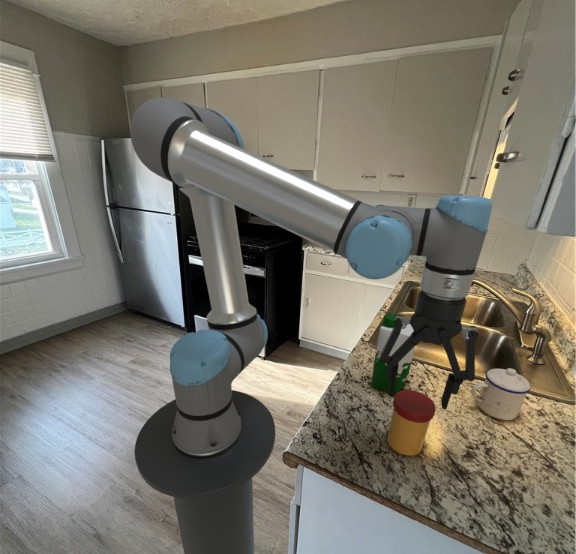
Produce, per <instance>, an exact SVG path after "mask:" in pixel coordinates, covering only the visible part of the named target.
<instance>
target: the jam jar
mask: <svg viewBox="0 0 576 554" xmlns="http://www.w3.org/2000/svg"><path fill="white" fill-rule="evenodd" d="M430 422H431V420H430V421H428V422H425V423H416V422H412V421H409V420H406V419H404V418H403V417H401V416H400V415H398V413H397V412H396V411H395V410H394V409H393V410H392V414H391V419H390V423H389V427H388V432H387V438H386V439H387V440H386V441H387V443H388V445H389V446H390V447H391V449H393V450H394V451H395V452H397V453H399V454H401V455H403V456H408V457H409V456H417V455H419V454H420V453H421V452H422V450H423V446H424V443H425V439H426V436H427V433H428V429H429V426H430Z"/></svg>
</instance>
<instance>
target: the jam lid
mask: <svg viewBox="0 0 576 554" xmlns="http://www.w3.org/2000/svg"><path fill="white" fill-rule="evenodd" d="M392 408H393V410H395V411H396V412H397V413H398V415H400V416H401V417H403V418H404V419H406V420H409V421H412V422H416V423H425V422H428V421H430V422H431V421H432V420H433V419H434V417H435V415H436V408H437V407H436V404H435V402H434V401H433V400H432V399H431V398H430V397H429V396H428V395H426V394H424V393H422V392H419V391H417V390H411V389H404V390H402V389H401V390H400V391H399V392H398V393H396V395H395V394H394V396H393V401H392Z"/></svg>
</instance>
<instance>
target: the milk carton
mask: <svg viewBox="0 0 576 554" xmlns="http://www.w3.org/2000/svg"><path fill="white" fill-rule="evenodd" d="M396 315H397V314H394V313H387V314H386V313H385V315H384V317H383V321H382V323H381V326H380V327H379V332H378V339H377V343H376V345H377V346H376V350H375V356H374V362H373V367H372V368H373V369H372V376H371V387H373V388H376V389H378V390H381V391H384V392H387V393H389V389H390V384H391V380H387V379H386V373H387V368H388V366H387V364H385V363H381V362H380V361H379V359H380V355H381V352H382V350H383V348H384V346H385V344H386V342H387V340H388V338H389V336H390V334H391V332H392V330H393V328H394V324H395V317H396ZM413 331H414V330H413V328H412V326H411V325H410V324H408V325H407V326H406V328H404V329H401V332H400V335H399V337H398V339H397V341H396V342H395V344H394V346H393V348H392V350H391V352H390V354H389V356H392V355H393V353H394V352H395V351H396V350H397V349H398V348H399V347H400V346H401V345H402V344H403V343H404V342H405V341H406V340H407V339H408V338H409V337H410V335H411V334H412V332H413ZM415 349H416V345H415V346H414V347H413V348H412V349H411V350H410V351H409V352H408V353H407V354H406V355H405V356H404V358H403V359H402V360H401V361H400V362H399V365H398V372H397V377H396V382H395V387H394V392H393V395H394V396H395V395H396V393H398V392H399V391H402V388H403V386H404V384H405V382H406V380H407V378H408V376H409V374H410V371H411V366H412V363H413V357H414V353H415Z"/></svg>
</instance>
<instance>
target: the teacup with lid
mask: <svg viewBox="0 0 576 554" xmlns="http://www.w3.org/2000/svg"><path fill="white" fill-rule="evenodd" d="M479 389H480V393H479V394H478V395H479V396H477V395H476V394H477V393H476V392H477V391H478V390H479ZM530 391H531V384H530V382H529V381H528V380H527V378H526V377H524V376H523V375H521V374H519V373H517V370H516V369H514V368H511V367H509V368H506V369H504V368H491V369H490V370H488V371H487V372H486V373H485V379H484V381H483V382H479V383H475V384H473V386H472V388H471V390H470V394H471V397H472V398H473V399H474V400H476V401H477V405H478V407H479V409H481V411H482V412H484V413H485V414H487V415H489V416H491V417H493V418H495V419H497V420H503V421H511V420H514V419H516V418H517V417H518V414H519V412H520V410H521V408H522V406H523V404H524V402H525V400H526V397H527V395H528V393H530Z"/></svg>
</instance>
